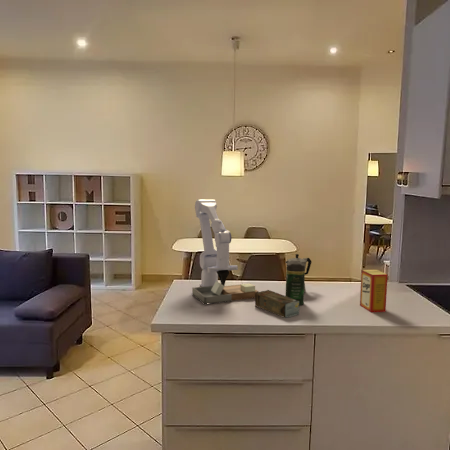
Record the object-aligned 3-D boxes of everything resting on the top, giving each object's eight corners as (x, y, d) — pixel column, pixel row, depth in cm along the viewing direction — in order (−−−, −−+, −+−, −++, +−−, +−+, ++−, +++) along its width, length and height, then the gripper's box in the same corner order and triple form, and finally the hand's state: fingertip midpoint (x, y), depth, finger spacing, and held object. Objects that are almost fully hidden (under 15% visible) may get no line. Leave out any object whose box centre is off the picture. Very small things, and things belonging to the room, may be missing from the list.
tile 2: (240, 289, 193) (240, 284, 193) (250, 288, 195) (250, 283, 195) (245, 292, 189) (245, 286, 188) (255, 291, 190) (255, 285, 190)
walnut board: (218, 292, 198) (218, 286, 198) (245, 290, 204) (245, 284, 203) (230, 300, 186) (230, 294, 185) (258, 297, 191) (258, 291, 191)
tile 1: (214, 292, 196) (210, 290, 195) (220, 283, 197) (216, 281, 196) (219, 295, 192) (215, 293, 190) (224, 286, 192) (220, 283, 191)
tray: (192, 294, 195) (192, 287, 195) (217, 292, 200) (217, 285, 200) (204, 304, 180) (204, 297, 179) (231, 301, 184) (231, 294, 184)
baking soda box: (385, 311, 173) (387, 273, 171) (370, 312, 172) (372, 274, 170) (373, 304, 182) (375, 268, 180) (359, 305, 181) (361, 269, 179)
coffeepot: (290, 294, 197) (292, 256, 195) (279, 289, 205) (280, 253, 203) (316, 290, 204) (317, 254, 202) (304, 286, 212) (305, 251, 210)
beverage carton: (285, 318, 163) (285, 302, 162) (253, 306, 179) (254, 291, 178) (299, 315, 168) (300, 299, 167) (268, 303, 183) (268, 288, 183)
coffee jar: (304, 306, 178) (306, 263, 176) (285, 306, 179) (286, 263, 177) (302, 300, 188) (303, 259, 185) (284, 299, 188) (285, 258, 186)
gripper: (211, 259, 187) (211, 289, 188) (240, 257, 193) (240, 286, 194) (205, 257, 194) (205, 285, 195) (234, 255, 199) (234, 283, 200)
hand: (222, 286), depth 195 cm, fingers closed, pressing on tile 1
